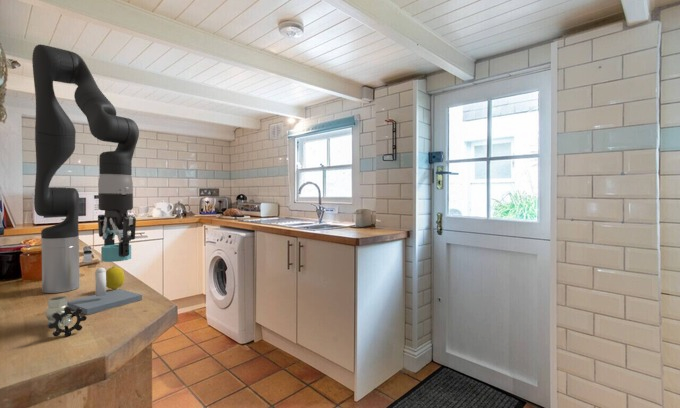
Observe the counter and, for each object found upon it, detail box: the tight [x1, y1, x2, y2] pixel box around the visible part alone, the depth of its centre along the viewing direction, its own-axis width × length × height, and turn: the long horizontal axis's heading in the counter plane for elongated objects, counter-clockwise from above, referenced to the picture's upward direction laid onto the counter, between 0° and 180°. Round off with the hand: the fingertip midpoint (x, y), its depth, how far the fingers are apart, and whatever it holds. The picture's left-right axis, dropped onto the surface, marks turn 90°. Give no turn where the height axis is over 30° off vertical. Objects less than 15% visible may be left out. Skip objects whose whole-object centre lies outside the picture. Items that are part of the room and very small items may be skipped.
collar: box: [100, 243, 132, 263], centre depth 86 cm, size 6×6×4 cm
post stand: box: [67, 267, 143, 316], centre depth 93 cm, size 12×14×10 cm
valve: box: [45, 295, 88, 338], centre depth 75 cm, size 7×7×12 cm
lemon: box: [106, 265, 126, 291], centre depth 105 cm, size 6×6×8 cm
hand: (116, 254), depth 86 cm, fingers closed on collar, 6 cm apart
